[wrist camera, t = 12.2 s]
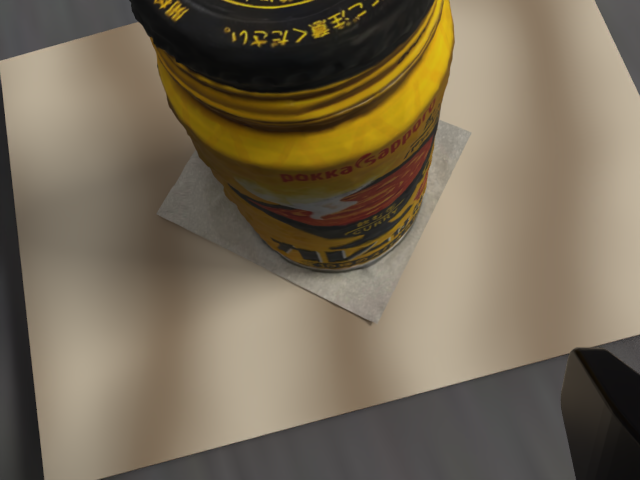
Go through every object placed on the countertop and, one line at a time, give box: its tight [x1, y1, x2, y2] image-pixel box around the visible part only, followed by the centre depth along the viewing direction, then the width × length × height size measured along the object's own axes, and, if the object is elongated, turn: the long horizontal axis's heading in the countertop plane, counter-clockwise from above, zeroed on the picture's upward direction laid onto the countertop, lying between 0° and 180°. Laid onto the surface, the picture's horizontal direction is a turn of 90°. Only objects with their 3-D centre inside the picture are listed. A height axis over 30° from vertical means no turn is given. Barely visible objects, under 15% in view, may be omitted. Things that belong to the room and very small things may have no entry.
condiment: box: [130, 0, 471, 324], centre depth 15 cm, size 7×8×12 cm
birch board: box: [0, 0, 640, 480], centre depth 21 cm, size 22×16×2 cm
